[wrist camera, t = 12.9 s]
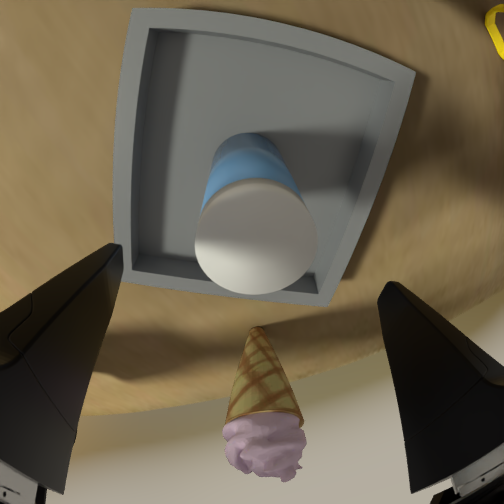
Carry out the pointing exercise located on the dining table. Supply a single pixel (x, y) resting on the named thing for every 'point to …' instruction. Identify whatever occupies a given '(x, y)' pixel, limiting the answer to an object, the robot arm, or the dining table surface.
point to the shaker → (253, 219)
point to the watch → (495, 28)
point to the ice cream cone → (263, 415)
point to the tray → (246, 121)
